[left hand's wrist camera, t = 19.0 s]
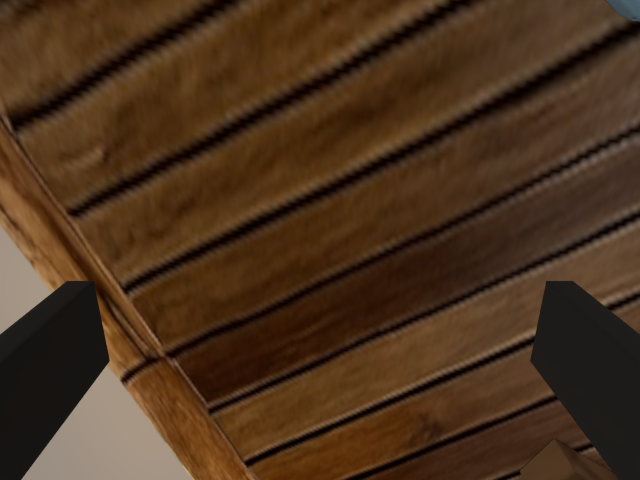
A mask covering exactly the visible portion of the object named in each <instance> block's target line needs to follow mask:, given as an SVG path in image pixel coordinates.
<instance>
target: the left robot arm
mask: <svg viewBox="0 0 640 480" xmlns="http://www.w3.org/2000/svg"><path fill="white" fill-rule="evenodd" d="M605 1H606V2H607V3H608V4H609V5H610V6H611V7H612V8H613V9H614V10H615V11H616V12H617V13H618V14H620V15H622V16H623V17H625V18H627V19H630V20H632V21H640V0H605ZM109 361H110V360H109V355H108V350H107V345H106V340H105V335H104V330H103V325H102V320H101V315H100V310H99V306H98V301H97V296H96V291H95V286H94V281H67V282H65V283H64V284H63V285H62V286H60V287H59V288H58V289H57V290H55V291H54V292H53V293H52V294H50V295H49V296H48V297H47V298H45V299H44V300H43V301H42V302H40V303H39V304H38V305H37V306H35V307H34V308H33V309H32V310H30V311H29V312H28V313H27V314H25V315H24V316H23V317H22V318H20V319H19V320H18V321H17V322H15V323H14V324H13V325H12V326H10V327H9V328H8V329H7V330H5V331H4V332H3V333H2V334H0V480H21V479H22V478H23V476H24V475H25V474H26V472H27V471H28V470H29V468H30V467H31V466H32V464H33V463H34V462H35V460H36V459H37V458H38V456H39V455H40V454H41V452H42V451H43V450H44V448H45V447H46V446H47V444H48V443H49V442H50V440H51V439H52V438H53V436H54V435H55V434H56V432H57V431H58V430H59V428H60V427H61V425H62V424H63V423H64V422H65V420H66V419H67V418H68V416H69V415H70V414H71V412H72V411H73V409H74V408H75V407H76V405H77V404H78V403H79V401H80V400H81V399H82V397H83V396H84V395H85V393H86V392H87V391H88V389H89V388H90V387H91V385H92V384H93V383H94V381H95V380H96V379H97V377H98V376H99V375H100V373H101V372H102V371H103V369H104V368H105V367H106V365H107V364H108V363H109ZM530 361H531V363H532V364H533V365H534V367H535V368H536V369H537V371H538V372H539V373H540V375H541V376H542V377H543V379H544V380H545V381H546V383H547V384H548V385H549V387H550V388H551V389H552V391H553V392H554V393H555V395H556V396H557V397H558V399H559V400H560V401H561V403H562V404H563V405H564V407H565V408H566V409H567V411H568V412H569V414H570V415H571V416H572V418H573V419H574V420H575V422H576V423H577V424H578V426H579V427H580V428H581V430H582V431H583V432H584V434H585V435H586V436H587V438H588V439H589V440H590V442H591V443H592V444H593V446H594V447H595V448H596V450H597V451H598V452H599V454H600V455H601V456H602V458H603V459H604V460H605V462H606V463H607V464H608V466H609V467H610V468H611V470H612V471H613V472H614V474H615V475H616V476H617V478H618V479H619V480H640V334H638V333H637V332H636V331H635V330H633V329H632V328H631V327H630V326H628V325H627V324H626V323H625V322H623V321H622V320H621V319H620V318H618V317H617V316H616V315H615V314H613V313H612V312H611V311H610V310H608V309H607V308H606V307H605V306H603V305H602V304H601V303H600V302H598V301H597V300H596V299H595V298H593V297H592V296H591V295H590V294H588V293H587V292H586V291H585V290H583V289H582V288H581V287H580V286H578V285H577V284H576V283H575V282H573V281H546V286H545V291H544V296H543V301H542V305H541V310H540V315H539V320H538V325H537V330H536V335H535V340H534V345H533V350H532V355H531V360H530Z"/></svg>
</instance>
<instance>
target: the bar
mask: <svg viewBox="0 0 640 480" xmlns="http://www.w3.org/2000/svg"><path fill="white" fill-rule="evenodd" d="M520 473H521V475H522V477H523V479H524V480H619V479H618V478H617V476H616V475H615V474H614V473H613V472H611V471H610V470H608V469H606V468H604V467H603V466H601V465H599V464H597V463H596V462H594V461H592V460H590V459H589V458H587V457H585V456H583V455H581V454H580V453H578V452H576V451H574V450H573V449H571V448H569V447H567V446H566V445H564V444H562V443H560V442H559V441H557V440H555V439H553V440H552V441H551V442H550V443H549V444H548V445H547V446H546V447H545V448H544V449H543V450H542V451H540V452H539V453H538V454H537V455H536V456H535V457H534V458H533V459H532V460H531V461H530V462H529V463H528V464H526V465H525V466H524V467H523V468H522V469H521V470H520Z"/></svg>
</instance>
